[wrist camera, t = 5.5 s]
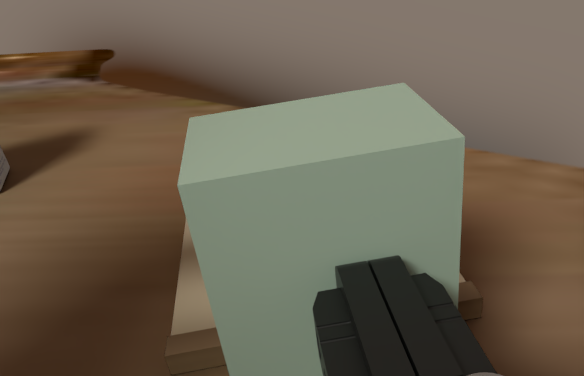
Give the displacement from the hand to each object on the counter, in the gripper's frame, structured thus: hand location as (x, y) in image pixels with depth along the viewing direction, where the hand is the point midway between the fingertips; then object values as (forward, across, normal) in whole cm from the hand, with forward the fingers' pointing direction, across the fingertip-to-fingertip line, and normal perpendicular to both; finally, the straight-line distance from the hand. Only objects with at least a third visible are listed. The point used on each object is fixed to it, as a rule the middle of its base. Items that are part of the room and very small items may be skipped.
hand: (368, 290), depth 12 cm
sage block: (+2, -1, -6) cm, 7 cm away
